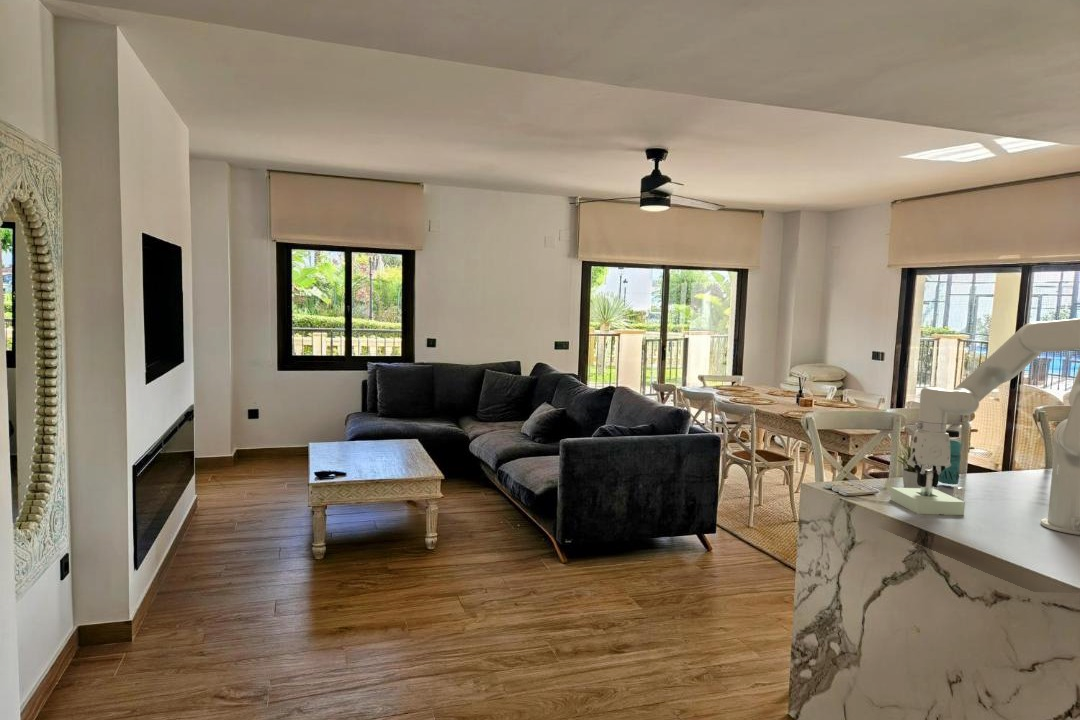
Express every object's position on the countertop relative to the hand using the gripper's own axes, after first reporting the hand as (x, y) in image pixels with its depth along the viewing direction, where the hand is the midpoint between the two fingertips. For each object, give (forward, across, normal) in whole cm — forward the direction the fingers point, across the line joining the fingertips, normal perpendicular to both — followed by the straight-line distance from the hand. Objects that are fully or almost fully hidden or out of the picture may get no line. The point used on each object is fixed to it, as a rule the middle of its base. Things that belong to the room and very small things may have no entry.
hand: (927, 485), depth 205 cm
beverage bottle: (+7, +24, +27) cm, 37 cm away
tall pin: (+5, 0, 0) cm, 5 cm away
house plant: (+7, +10, +22) cm, 25 cm away
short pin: (+7, +14, +6) cm, 17 cm away
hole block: (+7, 0, 0) cm, 7 cm away
